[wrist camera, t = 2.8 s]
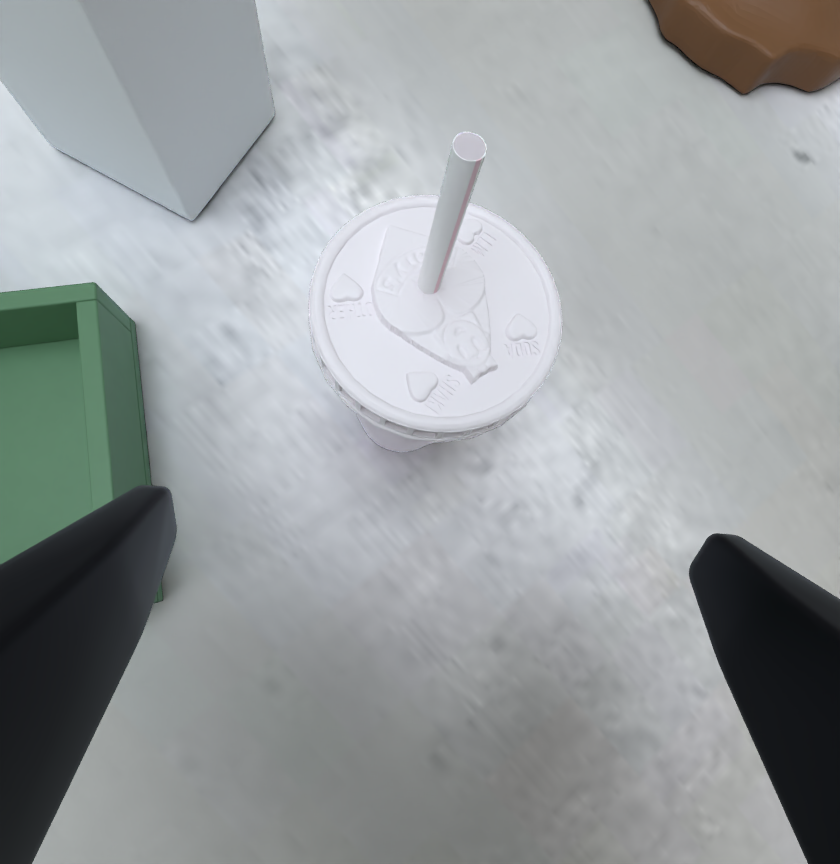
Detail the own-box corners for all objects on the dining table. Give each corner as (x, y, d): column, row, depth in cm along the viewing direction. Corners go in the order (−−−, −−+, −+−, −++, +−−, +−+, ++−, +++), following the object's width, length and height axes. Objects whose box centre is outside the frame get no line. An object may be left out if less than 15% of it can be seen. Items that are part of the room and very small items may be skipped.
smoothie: (424, 318, 22) (535, -33, 9) (501, 435, 21) (754, 253, 8) (298, 384, 21) (197, 86, 7) (376, 513, 20) (426, 451, 6)
